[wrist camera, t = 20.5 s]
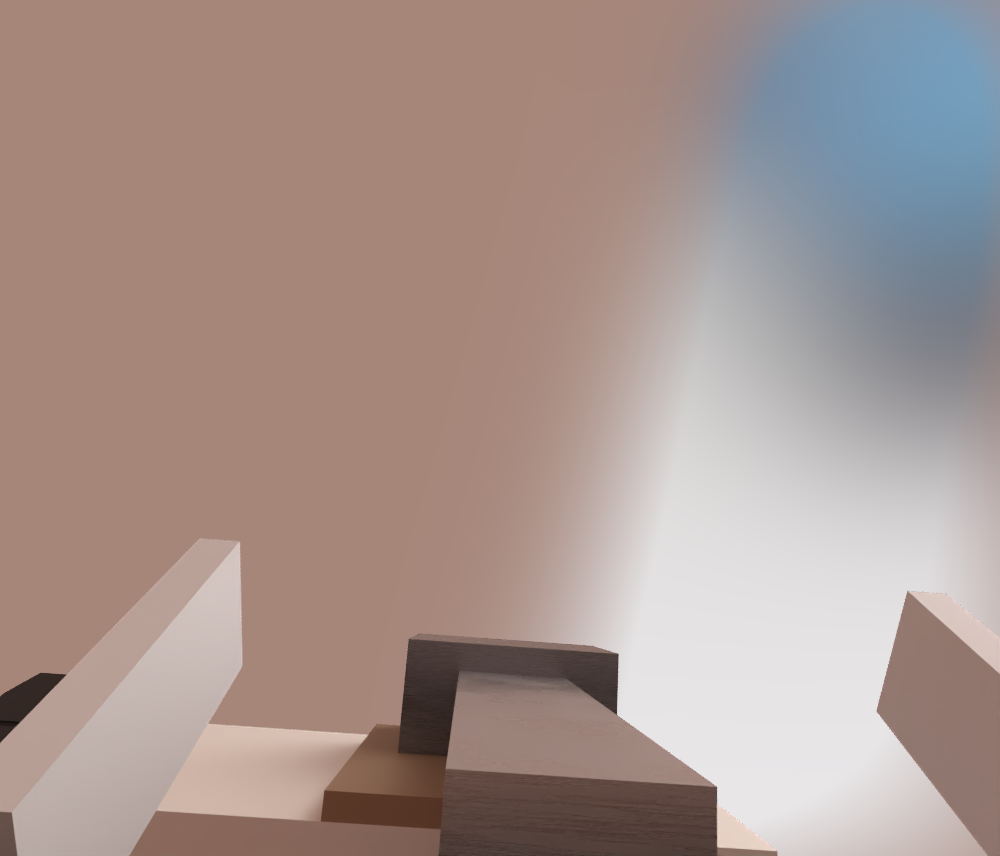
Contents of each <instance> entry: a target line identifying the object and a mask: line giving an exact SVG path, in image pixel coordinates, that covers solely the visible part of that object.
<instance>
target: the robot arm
mask: <svg viewBox="0 0 1000 856" xmlns="http://www.w3.org/2000/svg"><path fill="white" fill-rule="evenodd" d="M241 667H242V622H241V575H240V542H239V541H227V540H215V539H201V538H200V539H199V540H198V541H197V542H196V543H195V544H194V545H193V546H192V547H191V548H190V549H189V550H188V551H187V552H186V553H185V554H184V555H183V556H182V557H181V558H180V559H179V561H177V563H175V564H174V565H173V567H171V569H170V570H169V571H168V572H167V573H166V574H165V575H164V576H163V577H162V578H161V579H160V580H159V581H158V582H157V583H156V584H155V585H154V586H153V587H152V588H151V589H150V590H149V591H148V592H147V593H146V594H145V595H144V596H143V597H142V598H141V599H140V600H139V601H138V602H137V603H136V604H135V605H134V606H133V607H132V608H131V610H129V612H128V613H127V614H126V615H125V616H124V617H123V618H122V619H121V620H120V621H119V622H118V623H117V624H116V625H115V626H114V627H113V628H112V629H111V630H110V631H109V632H108V633H107V634H106V635H105V636H104V637H103V638H102V639H101V640H100V641H99V642H98V643H97V644H96V645H95V646H94V647H93V648H92V649H91V650H90V652H89V653H87V654H86V656H85V657H84V658H83V659H82V660H81V661H80V662H79V663H78V664H77V665H76V666H75V667H74V668H73V669H72V670H71V671H70V672H69V673H68V674H67V675H63V674H50V673H40V674H38V675H36V676H34V677H33V678H30V679H29V680H27V681H25V682H23V683H22V684H20V685H18V686H16V687H14V688H13V689H11V690H9V691H7V692H5V693H4V694H3V695H1V696H0V856H129V855H130V854H131V852H132V850H133V849H134V847H135V845H136V844H137V842H138V840H139V839H140V837H141V835H142V834H143V832H144V830H145V828H146V827H147V825H148V823H149V822H150V820H151V818H152V817H153V815H154V813H155V812H156V810H157V808H158V807H159V805H160V803H161V802H162V800H163V798H164V797H165V795H166V793H167V792H168V790H169V788H170V787H171V785H172V783H173V781H174V780H175V778H176V776H177V775H178V773H179V771H180V770H181V768H182V766H183V765H184V763H185V761H186V760H187V758H188V756H189V755H190V753H191V751H192V750H193V748H194V746H195V745H196V743H197V741H198V740H199V738H200V736H201V735H202V733H203V731H204V729H205V728H206V726H207V724H208V723H209V721H210V719H211V718H212V716H213V714H214V712H215V711H216V709H217V708H218V706H219V704H220V702H221V701H222V699H223V697H224V696H225V694H226V692H227V691H228V689H229V688H230V686H231V684H232V682H233V681H234V679H235V677H236V676H237V674H238V672H239V671H240V669H241ZM877 712H878V714H879V715H880V716H881V717H882V719H883V720H884V722H885V723H886V724H887V725H888V727H889V728H890V729H891V730H892V732H893V733H894V735H895V736H896V737H897V738H898V740H899V741H900V742H901V743H902V745H903V746H904V747H905V749H906V750H907V751H908V753H909V754H910V755H911V757H912V758H913V759H914V760H915V762H916V763H917V764H918V766H919V767H920V768H921V770H922V771H923V772H924V773H925V775H926V776H927V777H928V779H929V780H930V781H931V782H932V784H933V785H934V786H935V788H936V789H937V790H938V792H939V793H940V794H941V796H942V797H943V798H944V799H945V801H946V802H947V803H948V805H949V806H950V807H951V808H952V810H953V811H954V812H955V814H956V815H957V816H958V818H959V819H960V820H961V821H962V823H963V824H964V825H965V827H966V828H967V829H968V831H969V832H970V833H971V834H972V836H973V837H974V838H975V839H976V841H977V842H978V844H979V845H980V846H981V847H982V848H983V850H984V851H985V853H986V854H987V855H988V856H1000V638H999V637H998V636H996V635H995V634H994V633H993V632H991V631H990V630H989V629H988V628H987V627H986V626H984V625H983V624H982V623H981V622H980V621H978V620H977V619H976V618H975V617H974V616H972V615H971V614H970V613H969V612H967V611H966V610H965V609H964V608H963V607H961V606H960V605H959V604H958V603H956V602H955V601H954V600H953V599H952V598H951V597H949V596H948V595H947V594H942V593H928V592H914V591H907V595H906V599H905V603H904V606H903V610H902V614H901V618H900V622H899V626H898V630H897V634H896V638H895V642H894V646H893V649H892V653H891V657H890V661H889V665H888V668H887V672H886V676H885V680H884V684H883V688H882V692H881V696H880V699H879V703H878V707H877Z"/></svg>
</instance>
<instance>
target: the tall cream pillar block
mask: <svg viewBox="0 0 1000 856" xmlns="http://www.w3.org/2000/svg"><path fill="white" fill-rule="evenodd" d="M399 735H400V726H397V725H382V724H376V726H375V727H374V728H373V729H372V731H371V732H370V733H369V735H364V734H350V733H335V732H319V731H305V730H291V729H276V728H261V727H247V726H232V725H231V726H230V725H217V724H207V726H206V728H205V729H204V731H203V733H202V735H201V736H200V738H199V740H198V741H197V743H196V745H195V746H194V748H193V750H192V751H191V753H190V755H189V756H188V758H187V760H186V761H185V763H184V765H183V766H182V768H181V770H180V771H179V773H178V775H177V776H176V778H175V780H174V781H173V783H172V785H171V787H170V788H169V790H168V792H167V793H166V795H165V797H164V798H163V800H162V802H161V803H160V805H159V807H158V808H157V810H156V812H155V813H154V815H153V817H152V818H151V820H150V822H149V823H148V825H147V827H146V828H145V830H144V832H143V834H142V835H141V837H140V839H139V840H138V842H137V844H136V845H135V847H134V849H133V850H132V852H131V854H130V855H129V856H439V843H440V831H441V819H442V807H443V795H444V782H445V770H446V762H447V756H436V755H421V754H406V753H398V745H399ZM717 856H777V851H776V850H775V849H774V848H773V847H771V846H770V845H769V844H767V843H766V842H765V841H764V840H762V839H761V838H760V837H759V836H757V835H756V834H755V833H754V832H752V831H751V830H750V829H748V828H747V827H746V826H745V825H743V824H742V823H741V822H740V821H738V820H737V819H736V818H734V817H733V816H732V815H731V814H729V813H728V812H727V811H726V810H724V809H723V808H722V807H720V806H719V805H718V804H717Z"/></svg>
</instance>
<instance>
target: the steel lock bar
mask: <svg viewBox="0 0 1000 856" xmlns="http://www.w3.org/2000/svg"><path fill="white" fill-rule="evenodd" d="M617 688H618V654H617V653H613V652H610V651H607V650H604V649H600V648H597V647H594V646H586V645H572V644H557V643H543V642H530V641H515V640H501V639H488V638H474V637H459V636H446V635H432V634H418V635H416V636H414V637H412V638H410V639H409V644H408V654H407V663H406V674H405V684H404V694H403V704H402V714H401V725H400V735H399V745H398V753H406V754H421V755H436V756H447V762H446V770H445V782H444V795H443V807H442V819H441V831H440V843H439V856H717V787H716V786H715V785H714V784H712V783H711V782H709V781H708V780H707V779H705V778H704V777H702V776H701V775H700V774H698V773H697V772H696V771H694V770H693V769H691V768H690V767H689V766H687V765H686V764H684V763H683V762H682V761H680V760H679V759H677V758H676V757H675V756H673V755H672V754H670V753H669V752H668V751H666V750H665V749H663V748H662V747H661V746H659V745H658V744H656V743H655V742H654V741H652V740H651V739H649V738H648V737H647V736H645V735H644V734H643V733H641V732H640V731H638V730H637V729H636V728H634V727H633V726H631V725H630V724H629V723H627V722H626V721H624V720H623V719H622V718H620V717H619V716H618V715H617V690H618V689H617Z"/></svg>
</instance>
